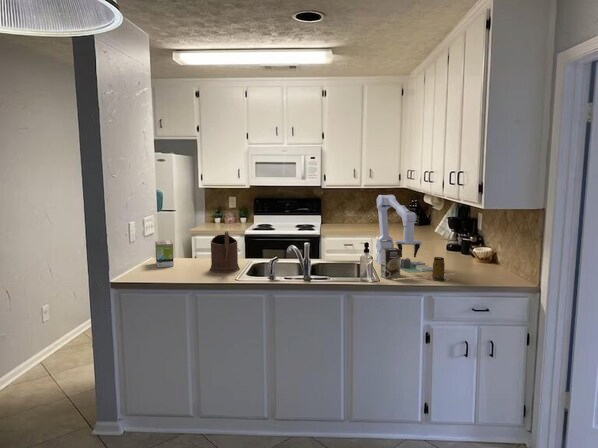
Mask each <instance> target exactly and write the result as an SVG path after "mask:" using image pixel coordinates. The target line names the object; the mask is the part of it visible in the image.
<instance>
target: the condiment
mask: <svg viewBox="0 0 598 448" xmlns="http://www.w3.org/2000/svg"><path fill="white" fill-rule="evenodd" d="M432 266H433V271H432V278H430V280H431V281H438V282H448V281H450V279H449V278H446V277H445V266H446V265H445V258H444V257H442V256H434V257H433V262H432Z"/></svg>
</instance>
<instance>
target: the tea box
mask: <svg viewBox="0 0 598 448" xmlns="http://www.w3.org/2000/svg"><path fill="white" fill-rule="evenodd" d="M154 243H155V245H154V246H155V264H156V266H157V268H171V267H174V265H175V264H174V263H175V262H174V243H173V241H172V240H157V241H154Z"/></svg>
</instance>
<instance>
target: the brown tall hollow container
mask: <svg viewBox="0 0 598 448" xmlns="http://www.w3.org/2000/svg"><path fill="white" fill-rule="evenodd" d="M229 233H230V232H229V231H226V230H225V231H224V234H217V235H215V236H214V237H213V238H212V239H211V240H210V258H211V259H210V261H211V263H210V268H209V272H211V273H214V274H230V273H231V274H232V273H236V272H238V271H240V270H241V268H240V266H239V258H238V254H239V253H238V240H237V239H236V238H234V237H233V236H231V235H230V234H229Z"/></svg>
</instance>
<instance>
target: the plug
mask: <svg viewBox="0 0 598 448" xmlns="http://www.w3.org/2000/svg"><path fill="white" fill-rule="evenodd" d="M411 260H412V259H410V258H409V257H406V258H401V260H400V266H401V268H410V262H412V261H411Z"/></svg>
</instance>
